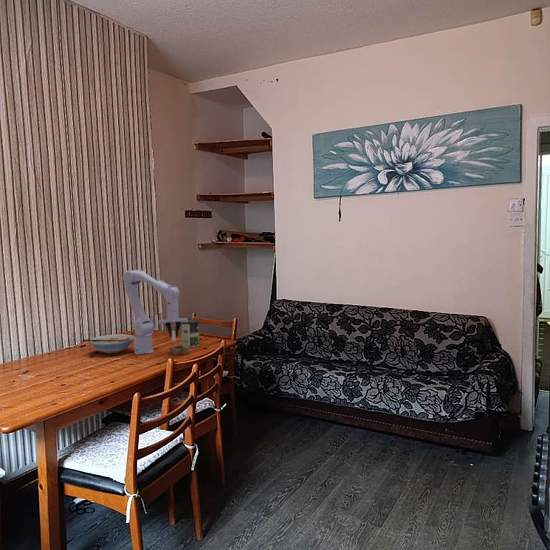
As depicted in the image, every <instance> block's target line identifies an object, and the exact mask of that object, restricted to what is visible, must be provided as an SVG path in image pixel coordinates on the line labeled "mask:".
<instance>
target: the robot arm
mask: <svg viewBox="0 0 550 550" xmlns="http://www.w3.org/2000/svg"><path fill="white" fill-rule="evenodd" d="M122 279H123V282H124V291H125V293H126V297H127V298H128V301H129V304H130V306H131V310H132V313H133V316H134V318H135V321H134V323H133V326H134V328H133V329H134V333H135V336H134V339H133V343H134V344H133V345H134V346H133V350H134V355H142V354H143V355H144V353H145V354H153V353H154V348H153V333H154V332H155V329H156V327H155V324H154V323H153V322H152V320H151V318H150V317H148V316H147V315H146V311H145V309H144V307H143V304H142V301H141V298H140V296H139V292H138V289H137V288H138V286H139V285H140V284H141V283H142V282H143V283H145V284H148V285H150V286H152V287H153V289H154V290H155V291H157V292H158V293H160V294H161V295H163V297H164V298H165V302H166V316H167V317H166V318H165V319H158V325H163V324H165V326H166V329H167V332H168V334H169V338H170V339H171V327H172V325H171V324H175V327H176V338H178V336H179V330H180V329H181V323H182V322H188V320H187V319H188V318H187V317H186V318H184V317H183V318H181V317H179V316H180V315H179V297H180V295H181V291H180V289H179V287H177V286H172V285H171V284H168V283H166V282H165V280H157V279H155V278H154V277H152V276H151V275H149V274H147V273H146V272H145V271H144V270H142V269H133V270H126V271H124V273H123V276H122Z"/></svg>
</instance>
